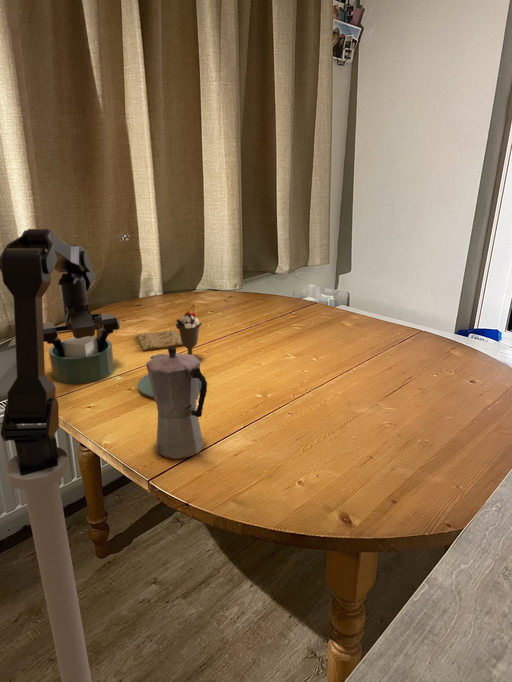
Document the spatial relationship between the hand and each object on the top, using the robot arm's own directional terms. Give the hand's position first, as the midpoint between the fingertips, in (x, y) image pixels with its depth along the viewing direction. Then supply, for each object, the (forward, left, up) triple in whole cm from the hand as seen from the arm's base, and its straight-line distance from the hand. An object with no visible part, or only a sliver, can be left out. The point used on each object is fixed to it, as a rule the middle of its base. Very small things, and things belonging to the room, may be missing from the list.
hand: (82, 359), depth 124 cm
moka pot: (+8, -44, -3) cm, 45 cm away
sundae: (+26, -7, -3) cm, 27 cm away
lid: (+16, -19, -3) cm, 25 cm away
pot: (0, 0, -3) cm, 3 cm away
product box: (0, 0, -2) cm, 2 cm away
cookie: (+24, +10, -3) cm, 26 cm away
